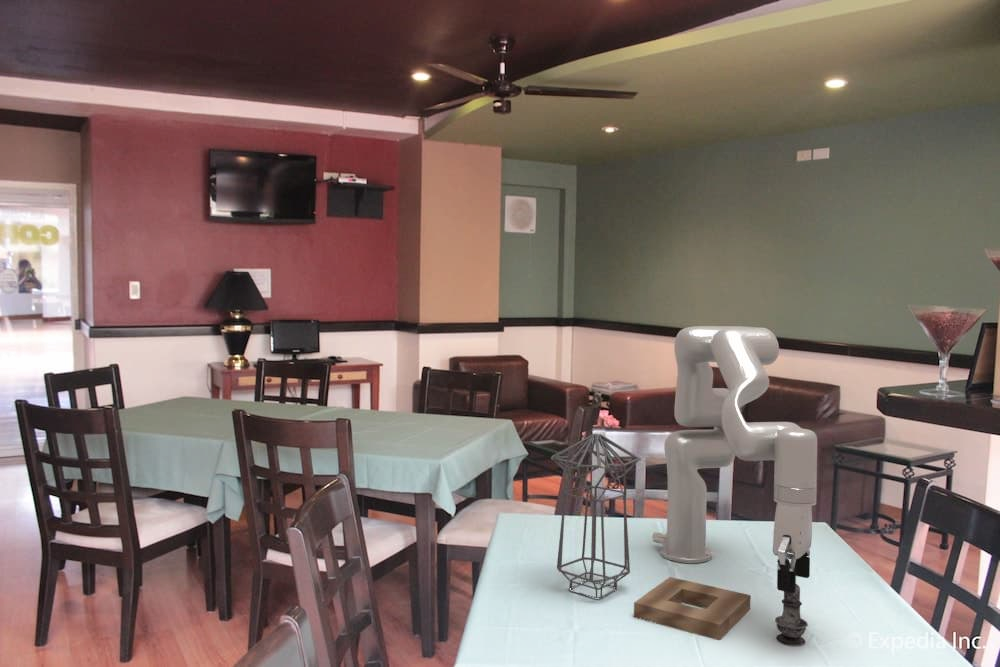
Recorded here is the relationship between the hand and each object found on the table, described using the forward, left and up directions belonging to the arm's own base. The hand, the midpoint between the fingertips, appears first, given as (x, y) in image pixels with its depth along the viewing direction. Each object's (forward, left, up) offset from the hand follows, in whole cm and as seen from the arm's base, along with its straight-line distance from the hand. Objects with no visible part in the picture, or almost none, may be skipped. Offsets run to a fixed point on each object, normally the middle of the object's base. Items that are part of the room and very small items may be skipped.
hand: (793, 583), depth 151 cm
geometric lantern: (-43, +1, -11) cm, 45 cm away
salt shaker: (0, 0, -11) cm, 11 cm away
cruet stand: (-20, +1, -11) cm, 23 cm away
